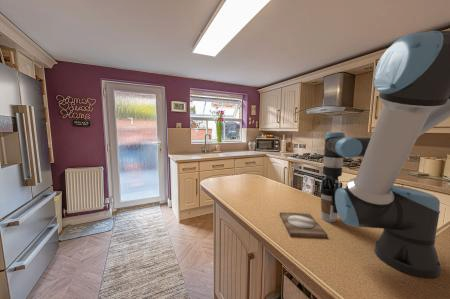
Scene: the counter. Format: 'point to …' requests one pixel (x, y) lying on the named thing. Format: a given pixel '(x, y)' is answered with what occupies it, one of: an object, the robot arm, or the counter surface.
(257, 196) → the counter surface
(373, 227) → the robot arm
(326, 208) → the coffee cup
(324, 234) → the board
